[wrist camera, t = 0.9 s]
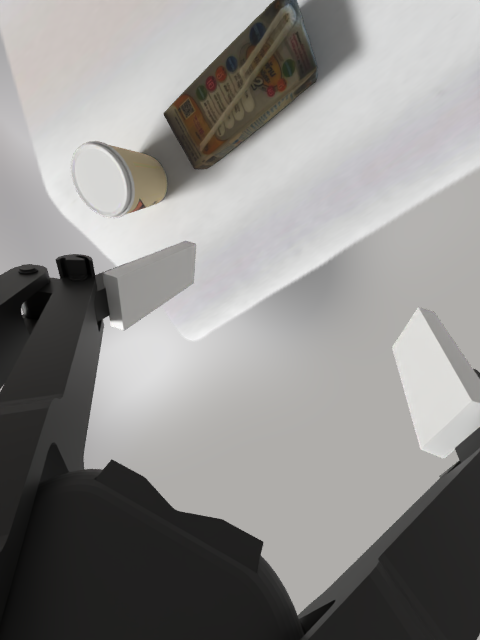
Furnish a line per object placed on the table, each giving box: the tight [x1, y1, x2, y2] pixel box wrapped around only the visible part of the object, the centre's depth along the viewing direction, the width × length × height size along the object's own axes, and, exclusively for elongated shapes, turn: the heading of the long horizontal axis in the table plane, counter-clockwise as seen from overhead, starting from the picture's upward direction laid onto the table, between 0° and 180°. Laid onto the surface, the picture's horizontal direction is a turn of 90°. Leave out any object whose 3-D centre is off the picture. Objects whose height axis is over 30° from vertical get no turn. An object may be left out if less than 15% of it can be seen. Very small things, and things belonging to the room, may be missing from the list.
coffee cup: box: [71, 141, 167, 218], centre depth 38 cm, size 9×9×12 cm
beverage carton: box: [164, 0, 318, 169], centre depth 32 cm, size 8×19×7 cm, turn 121°
